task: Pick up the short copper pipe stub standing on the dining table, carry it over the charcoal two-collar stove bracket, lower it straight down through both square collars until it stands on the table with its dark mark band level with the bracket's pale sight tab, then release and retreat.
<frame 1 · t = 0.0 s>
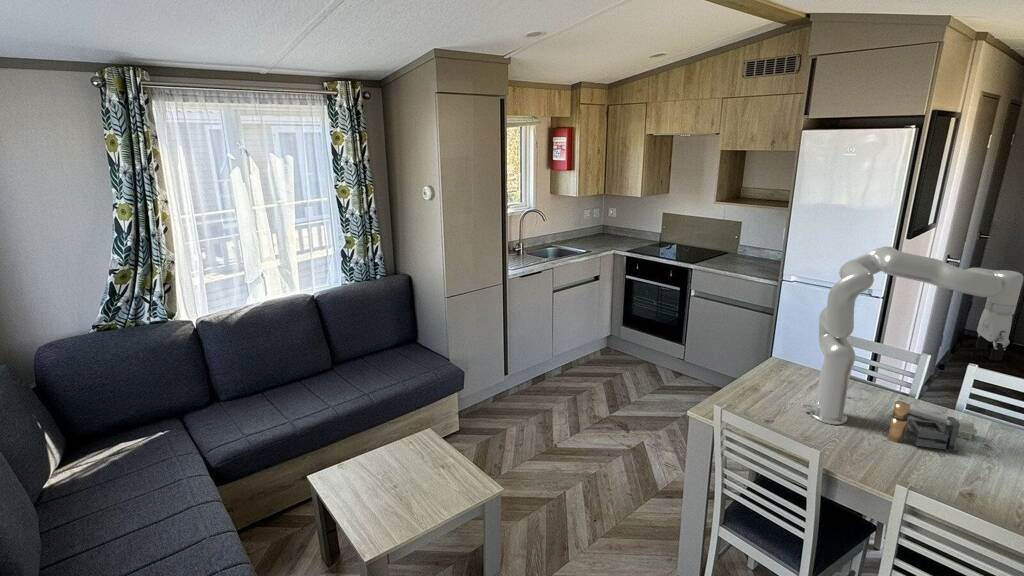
hand: (988, 353, 186), 31 cm above the table, fingers open, 9 cm apart
collar bracket: (924, 442, 190), on the table
copper tube: (895, 439, 193), on the table
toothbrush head: (933, 424, 201), on the table
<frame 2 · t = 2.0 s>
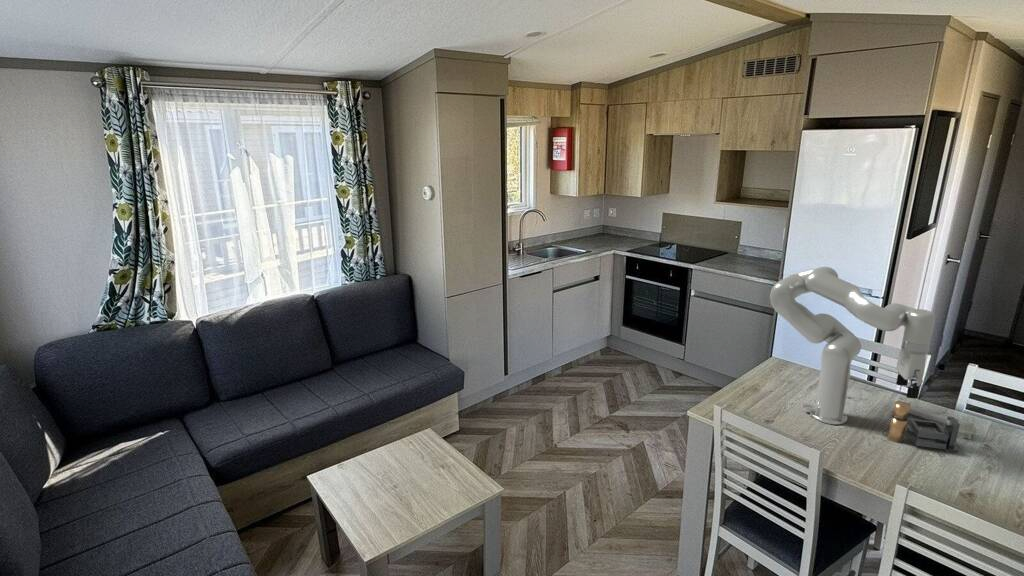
hand: (906, 391, 187), 19 cm above the table, fingers open, 9 cm apart
nothing on the table moved.
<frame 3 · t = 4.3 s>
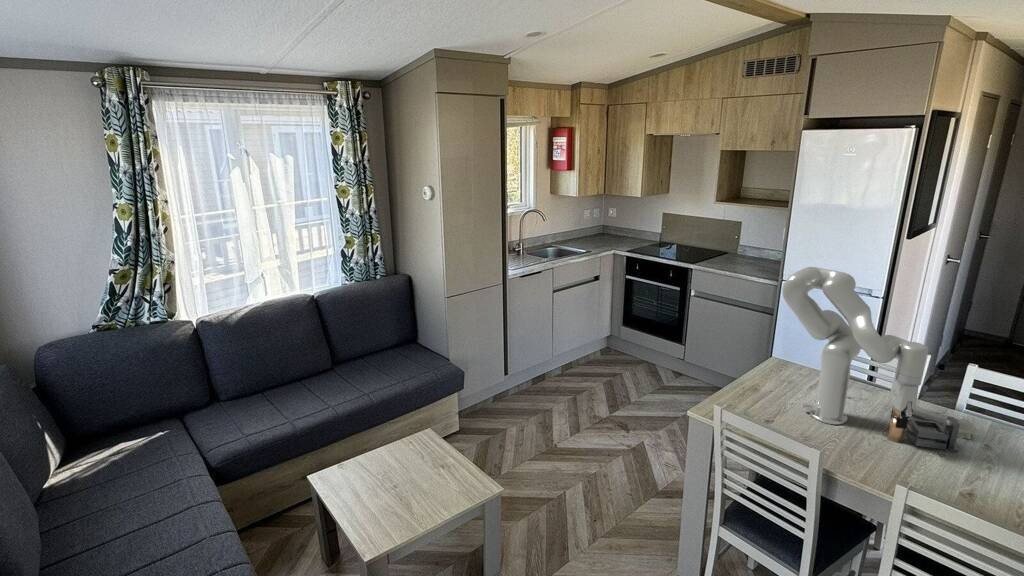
hand: (898, 423, 191), 6 cm above the table, fingers closed on copper tube, 4 cm apart
copper tube: (895, 439, 193), on the table, touching gripper
everything else where it was.
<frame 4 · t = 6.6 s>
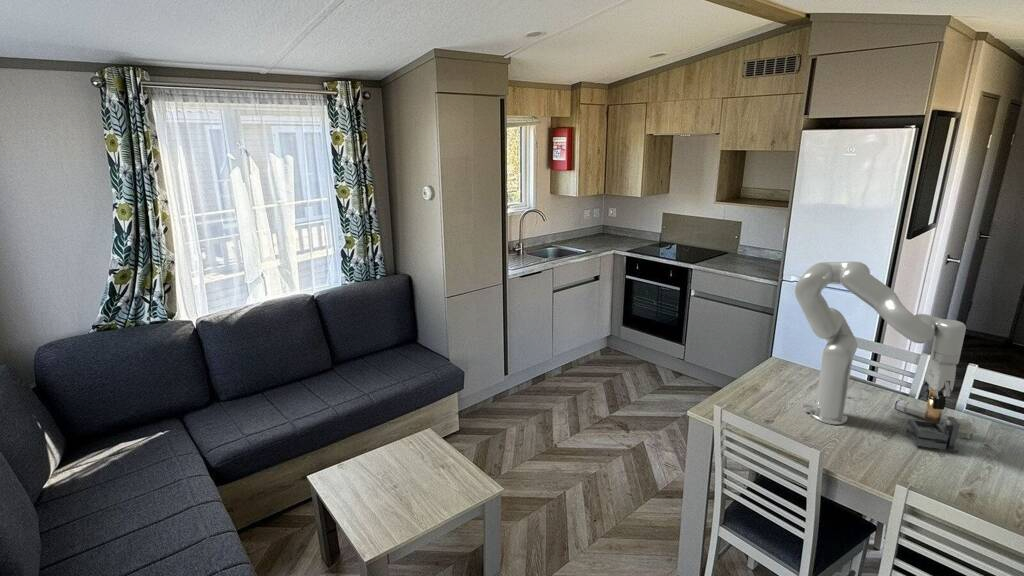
hand: (935, 404, 185), 15 cm above the table, fingers closed on copper tube, 4 cm apart
copper tube: (931, 420, 187), point 9 cm above the table, touching gripper
everything else where it was.
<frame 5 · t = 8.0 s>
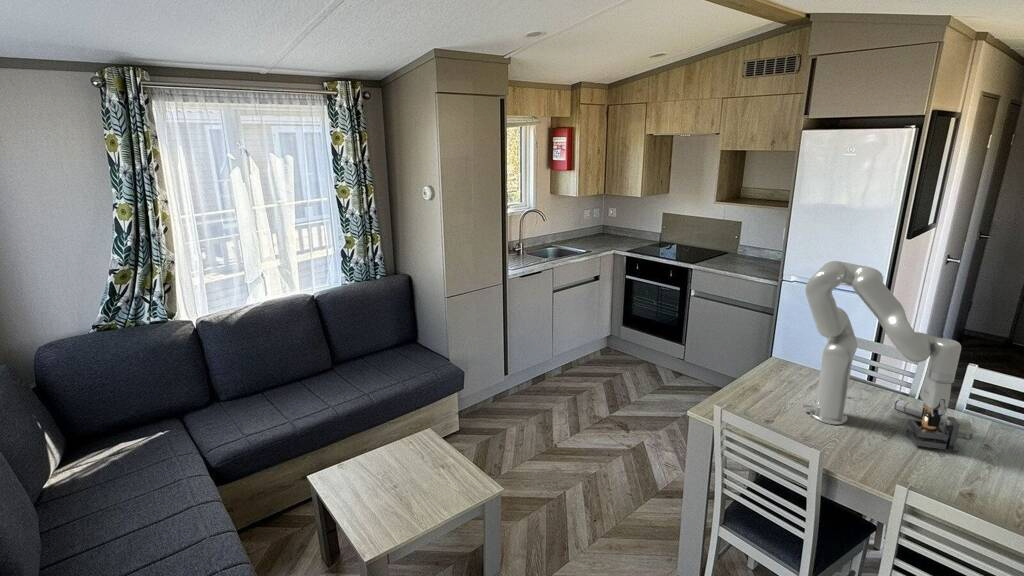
hand: (929, 421, 187), 8 cm above the table, fingers closed on copper tube, 4 cm apart
copper tube: (926, 437, 189), point 2 cm above the table, touching gripper
everything else where it was.
when the fingers open (8 cm above the table, at t = 9.2 s): copper tube drops 1 cm, resting in collar bracket.
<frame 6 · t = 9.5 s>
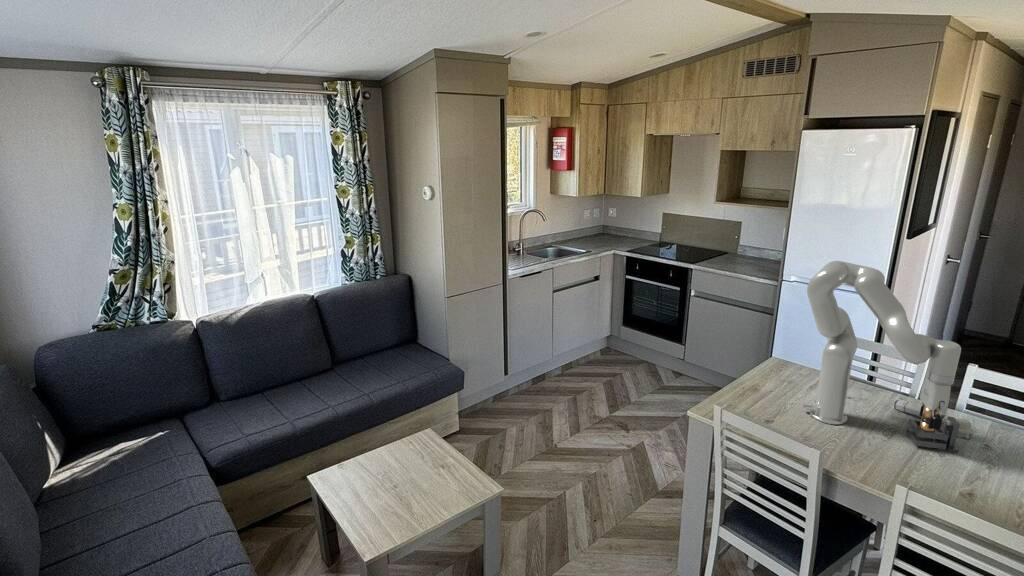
hand: (929, 422, 187), 8 cm above the table, fingers open, 7 cm apart
copper tube: (924, 442, 190), resting in collar bracket
everything else where it was.
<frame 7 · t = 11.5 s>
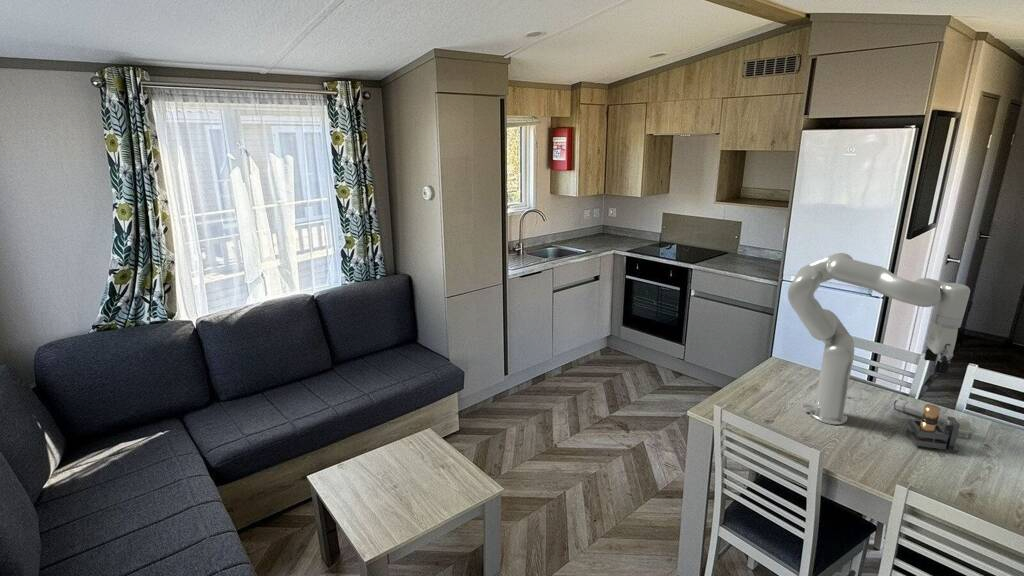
hand: (934, 366, 185), 28 cm above the table, fingers open, 9 cm apart
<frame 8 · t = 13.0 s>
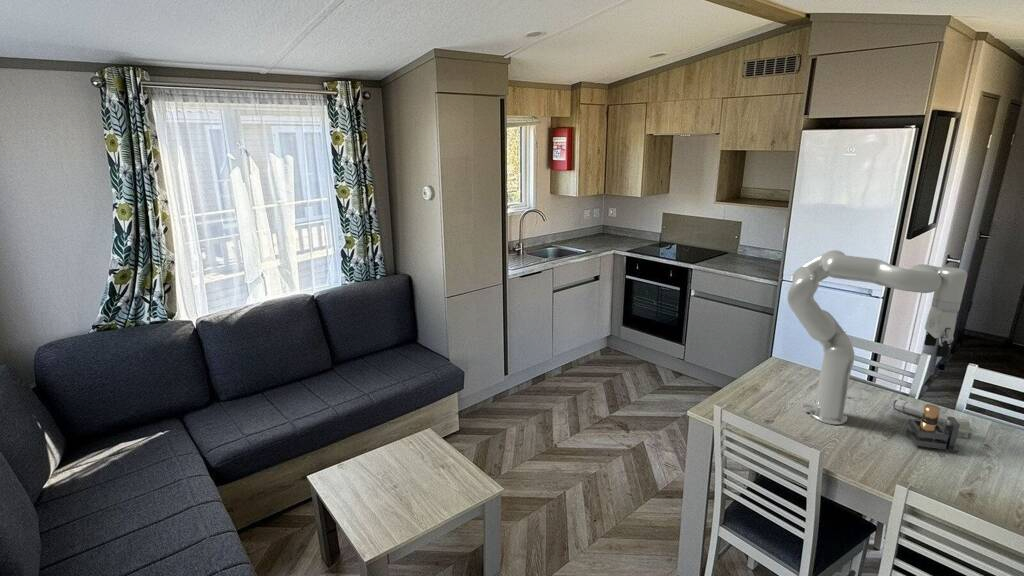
hand: (935, 350, 187), 32 cm above the table, fingers open, 9 cm apart
at the end: copper tube 0.1 cm off-centre on the collar bracket, point 0.0 cm above the collar bracket's base; copper tube tilted 0°; the gripper is holding nothing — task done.
